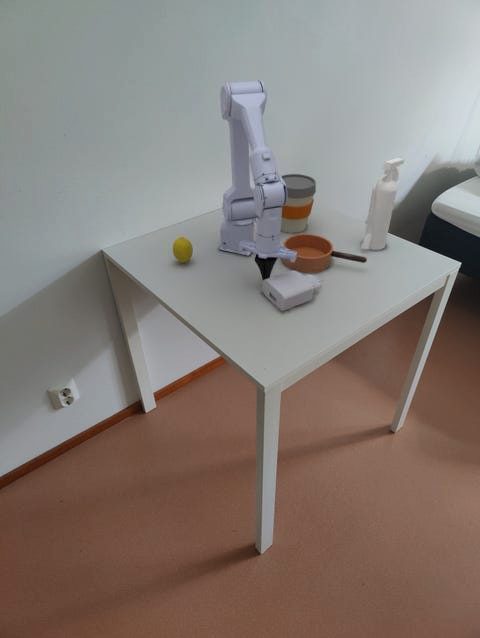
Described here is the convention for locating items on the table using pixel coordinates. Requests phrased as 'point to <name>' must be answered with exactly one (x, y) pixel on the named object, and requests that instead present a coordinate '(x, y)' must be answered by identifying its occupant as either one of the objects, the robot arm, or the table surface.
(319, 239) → the pan
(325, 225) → the table surface
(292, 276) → the charger
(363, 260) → the pan handle
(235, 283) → the table surface
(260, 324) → the table surface
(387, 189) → the white spray bottle
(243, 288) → the table surface
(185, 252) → the lemon
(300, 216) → the reusable coffee cup
